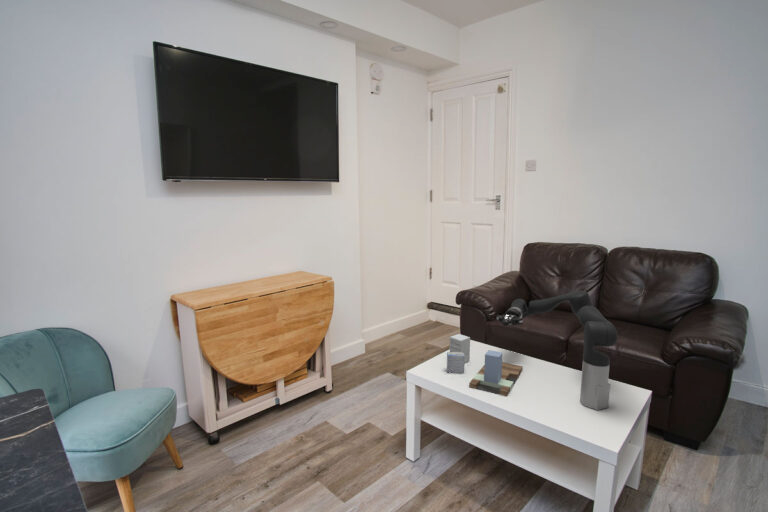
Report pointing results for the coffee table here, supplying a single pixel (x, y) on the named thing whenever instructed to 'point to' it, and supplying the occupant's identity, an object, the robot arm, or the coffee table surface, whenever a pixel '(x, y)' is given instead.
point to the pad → (499, 385)
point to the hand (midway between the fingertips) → (505, 323)
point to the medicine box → (455, 362)
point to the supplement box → (460, 345)
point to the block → (493, 366)
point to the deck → (508, 373)
